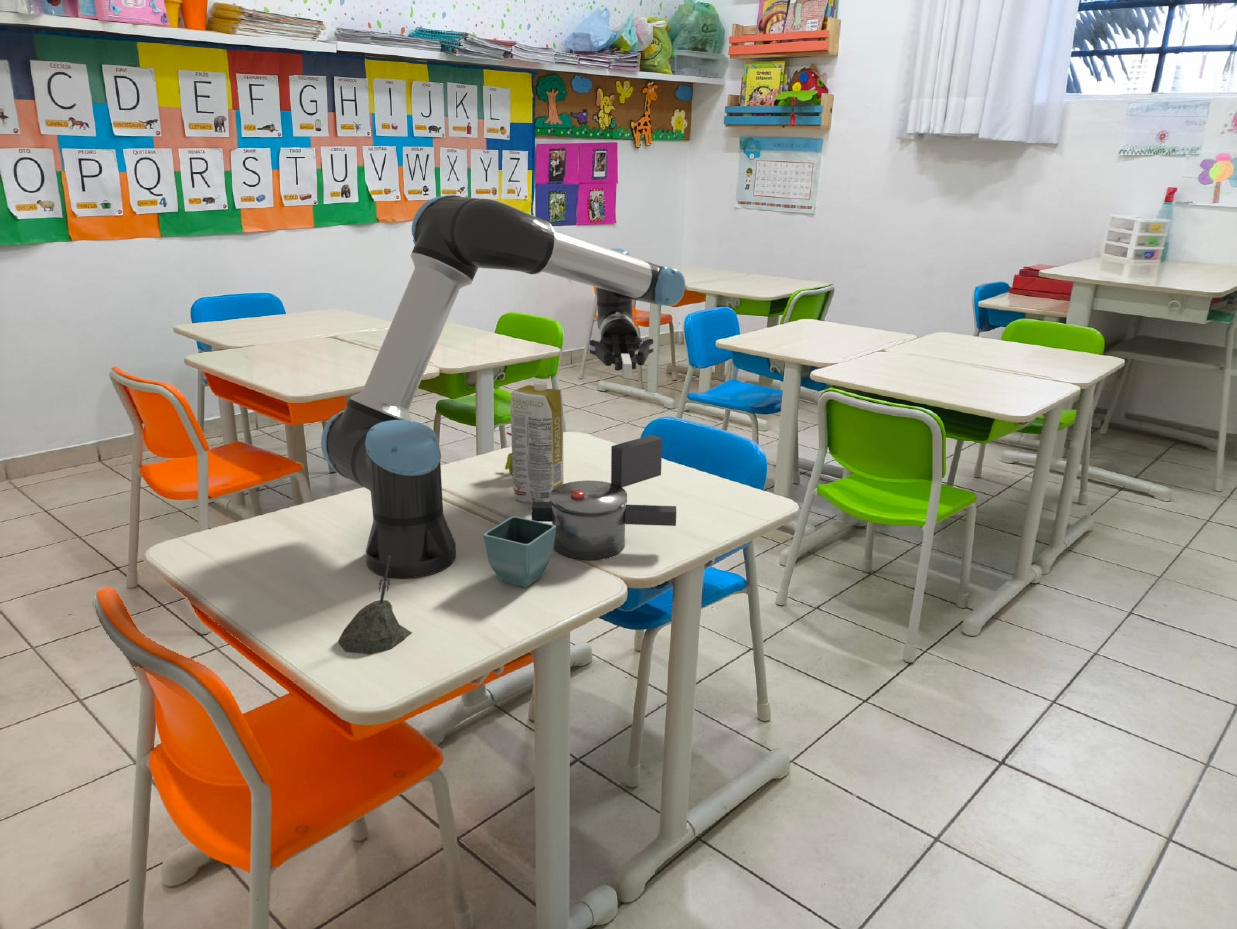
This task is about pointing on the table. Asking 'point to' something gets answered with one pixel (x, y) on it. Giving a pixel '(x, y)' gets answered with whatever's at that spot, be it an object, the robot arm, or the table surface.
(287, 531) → the table surface
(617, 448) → the lid
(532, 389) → the juice carton
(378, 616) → the sword in stone
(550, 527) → the flower pot
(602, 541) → the pot
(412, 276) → the robot arm
